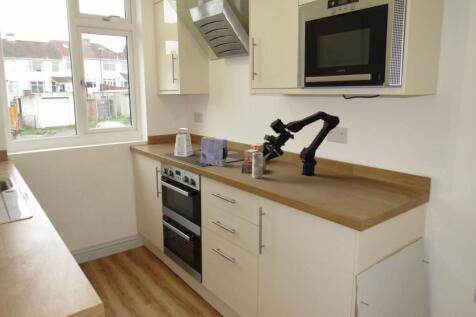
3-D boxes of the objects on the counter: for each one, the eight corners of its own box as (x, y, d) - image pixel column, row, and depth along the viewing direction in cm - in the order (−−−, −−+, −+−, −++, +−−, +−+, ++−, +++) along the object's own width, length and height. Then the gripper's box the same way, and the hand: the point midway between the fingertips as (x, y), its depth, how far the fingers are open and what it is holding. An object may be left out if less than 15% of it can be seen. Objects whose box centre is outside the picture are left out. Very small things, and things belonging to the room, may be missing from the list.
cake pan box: (228, 165, 227) (228, 138, 223) (223, 167, 223) (223, 139, 219) (204, 162, 237) (204, 136, 234) (200, 163, 233) (200, 137, 230)
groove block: (265, 169, 217) (266, 161, 216) (263, 174, 205) (263, 165, 204) (245, 168, 219) (245, 160, 218) (241, 172, 208) (241, 164, 207)
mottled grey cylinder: (260, 176, 199) (260, 152, 196) (262, 177, 196) (262, 153, 193) (251, 176, 198) (252, 152, 195) (253, 178, 194) (254, 153, 192)
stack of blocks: (252, 165, 228) (252, 147, 226) (244, 164, 231) (244, 146, 229) (266, 160, 246) (267, 143, 244) (258, 159, 249) (259, 142, 247)
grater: (186, 156, 256) (186, 129, 252) (174, 155, 259) (173, 128, 256) (192, 154, 266) (192, 128, 262) (180, 153, 269) (180, 127, 265)
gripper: (266, 127, 203) (248, 146, 202) (279, 131, 185) (258, 152, 184) (278, 140, 206) (260, 159, 205) (292, 145, 189) (272, 166, 188)
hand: (262, 159), depth 196 cm, fingers open, 9 cm apart
